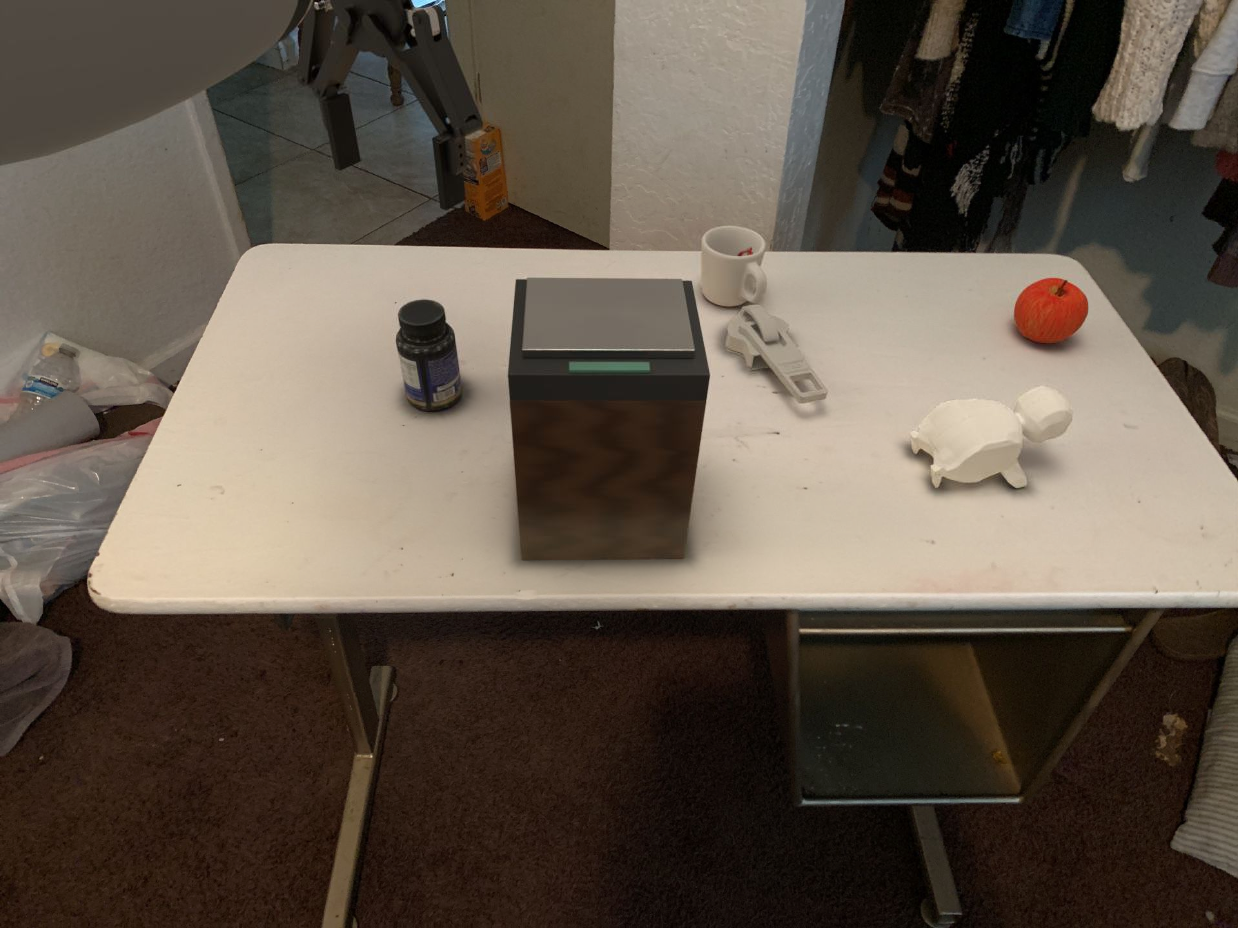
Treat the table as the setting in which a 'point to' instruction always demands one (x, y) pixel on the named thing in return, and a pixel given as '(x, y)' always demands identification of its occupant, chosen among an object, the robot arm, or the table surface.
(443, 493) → the table surface
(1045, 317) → the apple
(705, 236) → the cup
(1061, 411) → the white turtle figurine
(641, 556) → the stand
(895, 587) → the table surface
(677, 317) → the scale
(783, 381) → the zipper pull
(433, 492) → the table surface
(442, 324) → the pill bottle
